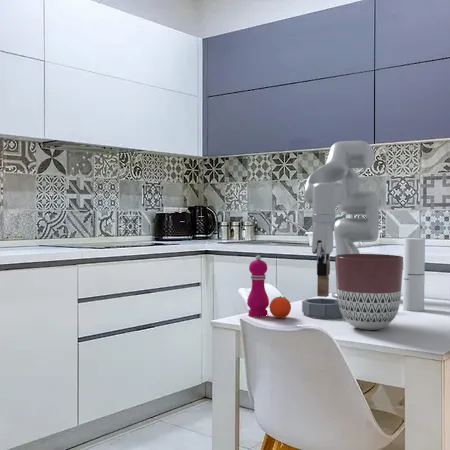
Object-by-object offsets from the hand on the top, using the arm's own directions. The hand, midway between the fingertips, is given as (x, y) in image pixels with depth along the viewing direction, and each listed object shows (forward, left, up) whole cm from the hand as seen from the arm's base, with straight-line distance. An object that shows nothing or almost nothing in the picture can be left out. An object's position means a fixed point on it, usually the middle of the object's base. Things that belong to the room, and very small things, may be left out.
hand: (323, 274), depth 194 cm
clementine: (+11, -11, -14) cm, 21 cm away
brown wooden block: (0, 0, -7) cm, 7 cm away
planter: (+16, +18, -14) cm, 28 cm away
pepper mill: (+11, -19, -14) cm, 26 cm away
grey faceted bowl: (0, 0, -13) cm, 13 cm away
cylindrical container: (-24, +26, -14) cm, 38 cm away
